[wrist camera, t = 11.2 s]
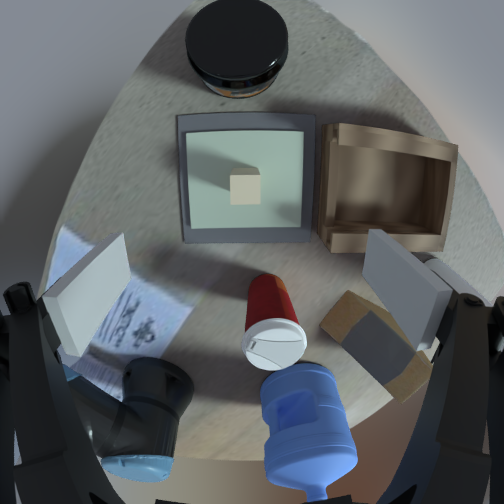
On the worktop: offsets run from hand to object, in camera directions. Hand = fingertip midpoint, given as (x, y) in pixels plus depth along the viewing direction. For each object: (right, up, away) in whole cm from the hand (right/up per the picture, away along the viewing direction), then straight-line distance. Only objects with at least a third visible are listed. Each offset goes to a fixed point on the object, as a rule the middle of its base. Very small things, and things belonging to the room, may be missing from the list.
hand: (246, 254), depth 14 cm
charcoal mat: (0, +10, +23) cm, 25 cm away
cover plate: (-1, +10, +22) cm, 24 cm away
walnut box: (+19, +10, +23) cm, 31 cm away
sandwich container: (+20, -13, +33) cm, 41 cm away
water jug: (+10, -28, +39) cm, 49 cm away
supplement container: (-1, +25, +17) cm, 30 cm away
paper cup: (+3, -6, +30) cm, 30 cm away
